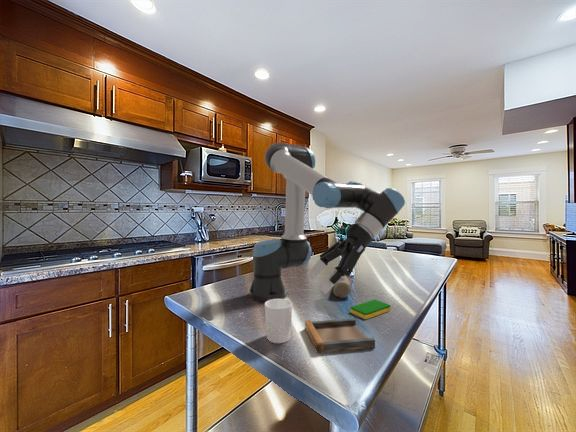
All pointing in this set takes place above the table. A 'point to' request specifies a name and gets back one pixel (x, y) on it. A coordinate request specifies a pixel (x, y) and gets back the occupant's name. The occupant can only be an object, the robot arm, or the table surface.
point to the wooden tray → (337, 335)
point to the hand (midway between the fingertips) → (314, 283)
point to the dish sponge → (370, 309)
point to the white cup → (278, 320)
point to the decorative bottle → (343, 287)
